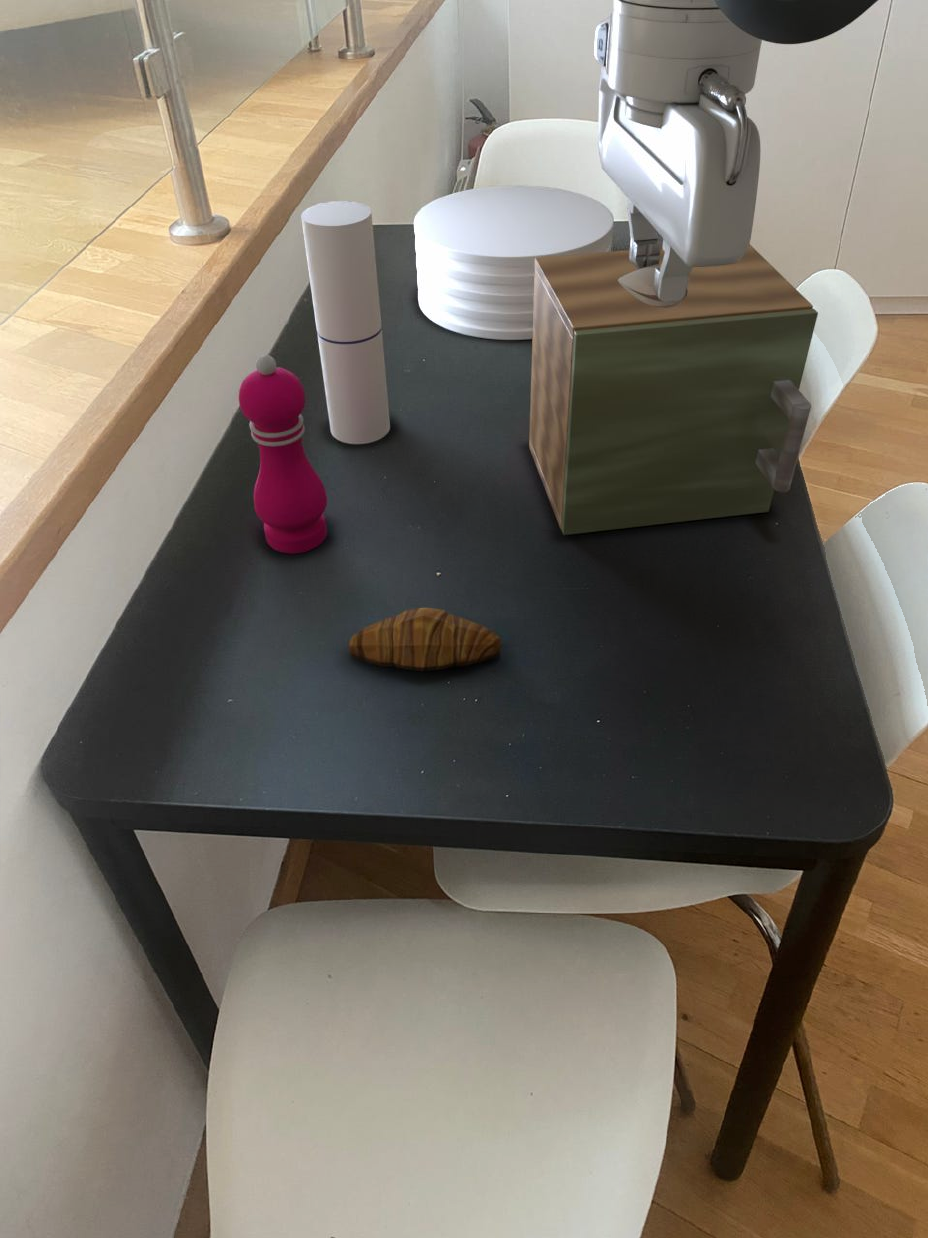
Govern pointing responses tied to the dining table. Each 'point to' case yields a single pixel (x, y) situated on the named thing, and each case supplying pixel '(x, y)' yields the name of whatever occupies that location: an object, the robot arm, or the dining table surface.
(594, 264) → the cupboard
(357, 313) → the cylindrical container
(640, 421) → the cupboard door
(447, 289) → the plate stack
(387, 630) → the croissant
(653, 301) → the clam shell
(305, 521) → the pepper mill
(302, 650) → the dining table surface
